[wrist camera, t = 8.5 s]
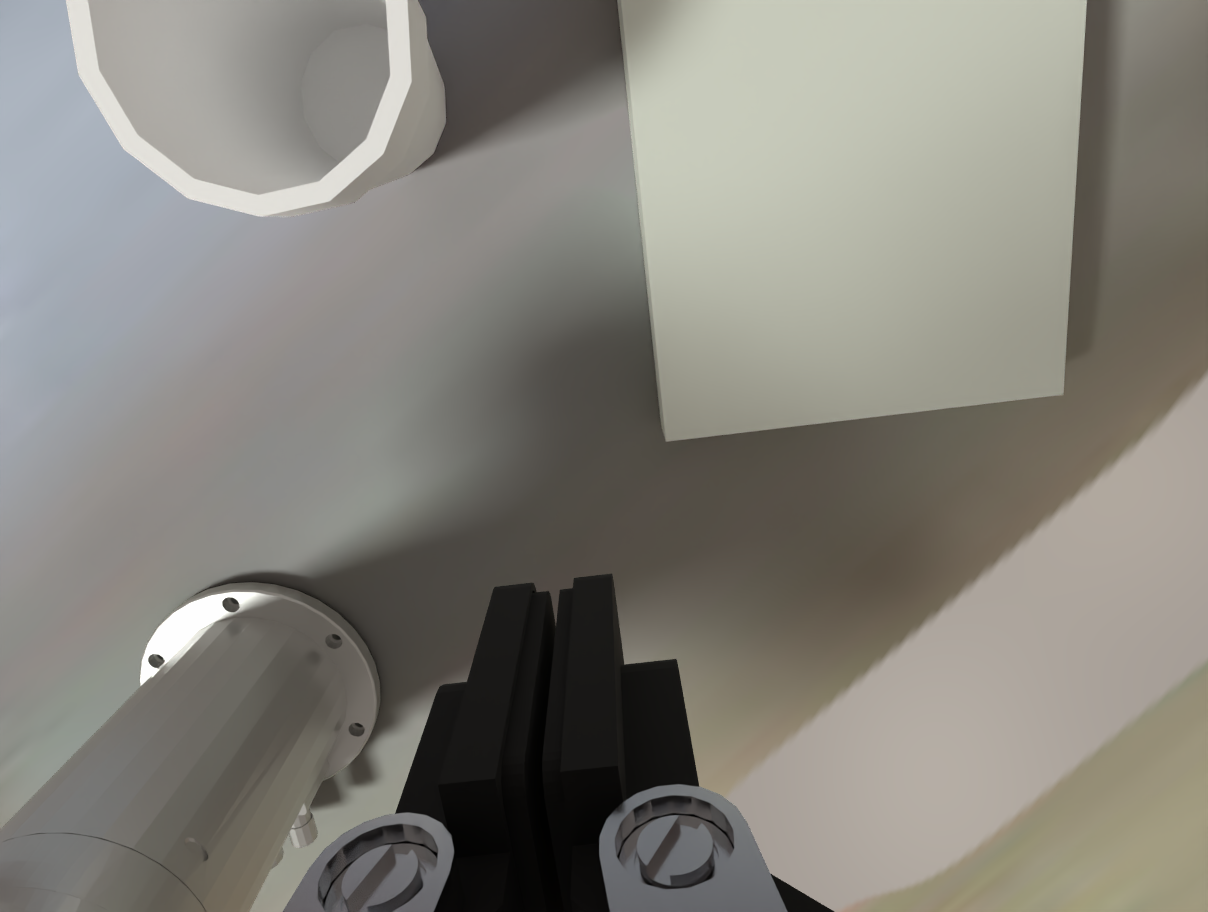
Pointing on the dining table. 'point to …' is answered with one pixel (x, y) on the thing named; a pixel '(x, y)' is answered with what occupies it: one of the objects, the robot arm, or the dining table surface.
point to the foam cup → (265, 95)
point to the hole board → (852, 203)
